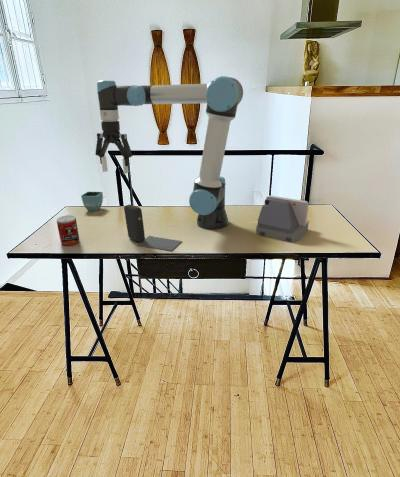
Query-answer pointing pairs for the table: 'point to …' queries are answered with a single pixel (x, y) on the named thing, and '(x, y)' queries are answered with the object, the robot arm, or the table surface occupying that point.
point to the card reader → (134, 223)
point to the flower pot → (92, 200)
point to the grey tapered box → (283, 218)
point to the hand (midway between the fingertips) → (115, 172)
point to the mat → (159, 243)
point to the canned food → (68, 230)
